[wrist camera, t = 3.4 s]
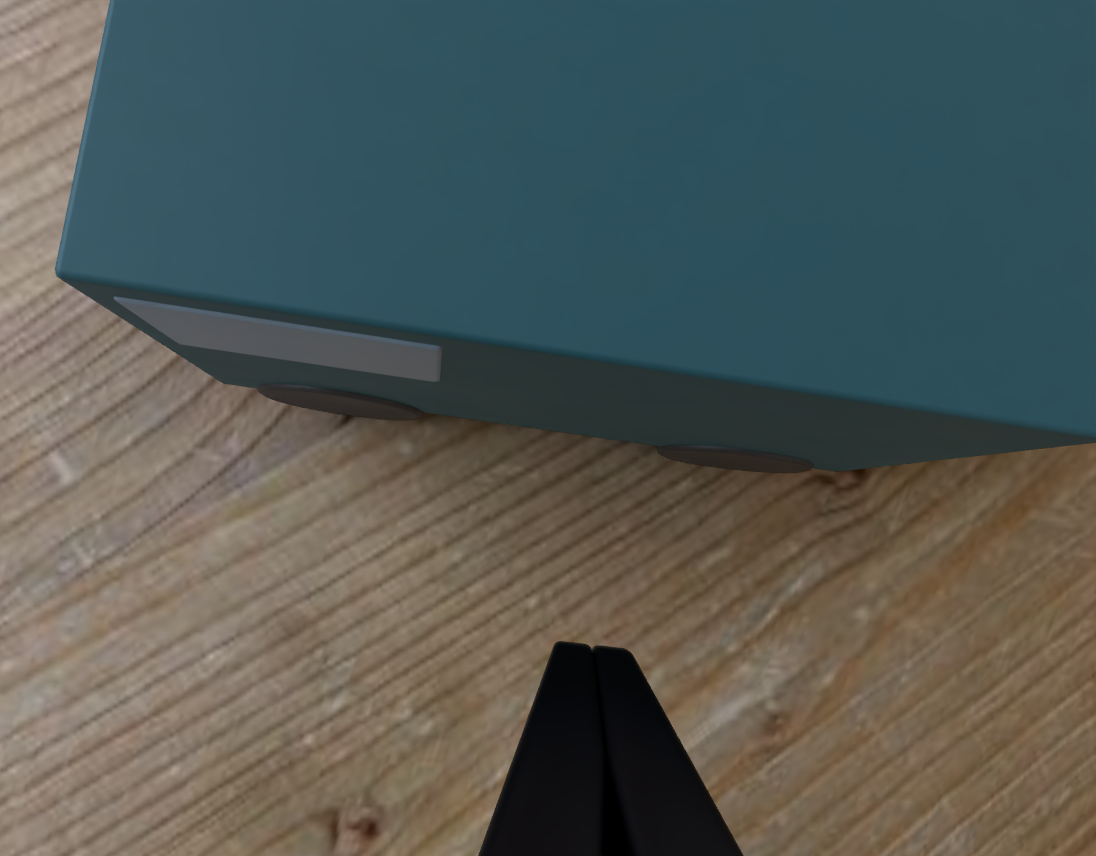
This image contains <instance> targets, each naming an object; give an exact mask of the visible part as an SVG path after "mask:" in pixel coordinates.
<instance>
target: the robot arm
mask: <svg viewBox="0 0 1096 856" xmlns="http://www.w3.org/2000/svg"><path fill="white" fill-rule="evenodd" d="M478 856H743V854H742V852H741V850H740V848H739V847H738V845H737V843H736V841H735V839H734V838H733V836H732V834H731V832H730V830H729V828H728V827H727V825H726V823H725V821H724V819H723V818H722V816H721V814H720V812H719V810H718V809H717V807H716V805H715V803H714V801H713V799H712V798H711V796H710V794H709V792H708V790H707V789H706V787H705V785H704V783H703V781H702V779H701V778H700V776H699V774H698V772H697V770H696V769H695V767H694V765H693V763H692V761H691V760H690V758H689V756H688V754H687V752H686V750H685V749H684V747H683V745H682V743H681V741H680V740H679V738H678V736H677V734H676V732H675V730H674V729H673V727H672V725H671V723H670V721H669V720H668V718H667V716H666V714H665V712H664V711H663V709H662V707H661V705H660V703H659V701H658V700H657V698H656V696H655V694H654V692H653V691H652V689H651V687H650V685H649V683H648V682H647V680H646V678H645V676H644V674H643V672H642V671H641V669H640V667H639V665H638V663H637V662H636V660H635V658H634V656H633V655H632V653H631V652H629V651H628V650H627V649H624V648H617V647H608V646H595V647H593V648H592V649H591V647H590V646H589V645H587V644H582V643H573V642H564V641H558V642H556V643H555V645H554V647H553V649H552V652H551V655H550V658H549V660H548V663H547V666H546V669H545V672H544V674H543V677H542V680H541V683H540V685H539V688H538V691H537V694H536V697H535V699H534V702H533V705H532V708H531V710H530V713H529V716H528V719H527V722H526V724H525V727H524V730H523V733H522V736H521V738H520V741H519V744H518V747H517V749H516V752H515V755H514V758H513V761H512V763H511V766H510V769H509V772H508V774H507V777H506V780H505V783H504V786H503V788H502V791H501V794H500V797H499V799H498V802H497V805H496V808H495V811H494V813H493V816H492V819H491V822H490V825H489V827H488V830H487V833H486V836H485V838H484V841H483V844H482V847H481V850H480V852H479V855H478Z"/></svg>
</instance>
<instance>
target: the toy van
mask: <svg viewBox="0 0 1096 856" xmlns="http://www.w3.org/2000/svg"><path fill="white" fill-rule="evenodd" d="M55 271H56V275H57V277H58V278H60V279H62V280H63V281H65V282H66V283H68V284H69V285H71V286H72V287H74V288H76V289H77V290H79V291H80V292H82V293H83V294H85V295H86V296H88V297H90V298H91V299H93V300H94V301H96V302H97V303H99V304H100V305H102V306H104V307H105V308H107V309H108V310H110V311H111V312H113V313H114V314H116V315H118V316H119V317H121V318H122V319H124V320H125V321H127V322H129V323H130V324H132V325H133V326H135V327H136V328H138V329H139V330H141V331H143V332H144V333H146V334H147V335H149V336H150V337H152V338H153V339H155V340H157V341H158V342H160V343H161V344H163V345H164V346H166V347H167V348H169V349H171V350H172V351H174V352H175V353H177V354H178V355H180V356H181V357H183V358H185V359H186V360H188V361H189V362H191V363H192V364H194V365H195V366H197V367H199V368H200V369H202V370H203V371H205V372H206V373H208V374H209V375H211V376H213V377H214V378H216V379H217V380H219V381H220V382H222V383H224V384H230V385H237V386H244V387H251V388H258V391H259V393H260V394H262V395H264V396H265V397H268V398H270V399H273V400H276V401H279V402H282V403H286V404H290V405H294V406H299V407H303V408H308V409H313V410H318V411H324V412H329V413H336V414H342V415H349V416H356V417H364V418H373V419H385V420H413V419H418V418H420V417H421V415H422V414H423V412H425V413H432V414H439V415H446V416H453V417H460V418H467V419H474V420H481V421H488V422H495V423H502V424H509V425H515V426H522V427H529V428H536V429H543V430H550V431H557V432H564V433H571V434H578V435H585V436H592V437H599V438H606V439H613V440H620V441H627V442H634V443H641V444H648V445H655V446H657V450H658V453H659V454H660V455H662V456H664V457H666V458H669V459H672V460H676V461H681V462H685V463H691V464H696V465H702V466H709V467H716V468H724V469H733V470H743V471H756V472H773V473H796V472H804V471H808V470H811V469H812V468H815V469H822V470H829V471H836V472H838V471H847V470H856V469H865V468H874V467H883V466H892V465H901V464H910V463H918V462H927V461H936V460H945V459H954V458H963V457H972V456H981V455H990V454H999V453H1008V452H1016V451H1025V450H1034V449H1043V448H1052V447H1061V446H1070V445H1079V444H1088V443H1096V0H110V4H109V8H108V13H107V18H106V23H105V28H104V33H103V38H102V43H101V47H100V52H99V57H98V62H97V67H96V72H95V77H94V82H93V86H92V91H91V96H90V101H89V106H88V111H87V116H86V121H85V125H84V130H83V135H82V140H81V145H80V150H79V155H78V160H77V164H76V169H75V174H74V179H73V184H72V189H71V194H70V199H69V203H68V208H67V213H66V218H65V223H64V228H63V233H62V238H61V242H60V247H59V252H58V257H57V262H56V267H55Z"/></svg>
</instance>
